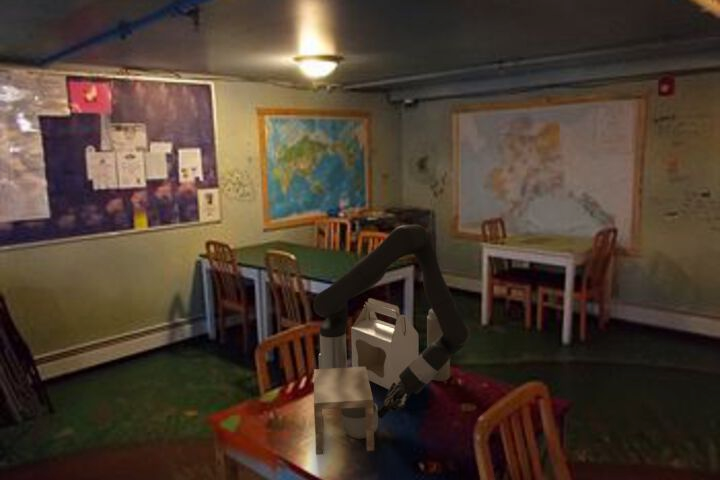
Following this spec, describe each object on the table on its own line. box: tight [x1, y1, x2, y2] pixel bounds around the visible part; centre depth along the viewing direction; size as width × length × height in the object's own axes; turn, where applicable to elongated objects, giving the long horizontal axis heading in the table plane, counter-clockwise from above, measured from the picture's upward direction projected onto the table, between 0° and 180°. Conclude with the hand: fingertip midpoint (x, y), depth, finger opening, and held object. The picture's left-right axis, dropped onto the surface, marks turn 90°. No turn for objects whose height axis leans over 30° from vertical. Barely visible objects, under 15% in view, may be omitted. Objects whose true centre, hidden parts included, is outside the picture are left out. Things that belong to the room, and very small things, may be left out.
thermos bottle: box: [426, 308, 451, 382], centre depth 198 cm, size 8×8×28 cm
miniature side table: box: [313, 366, 375, 455], centre depth 163 cm, size 16×23×15 cm
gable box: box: [350, 297, 420, 390], centre depth 200 cm, size 22×13×28 cm, turn 40°
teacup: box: [339, 402, 379, 440], centre depth 164 cm, size 14×11×8 cm
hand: (378, 415), depth 164 cm, fingers closed
